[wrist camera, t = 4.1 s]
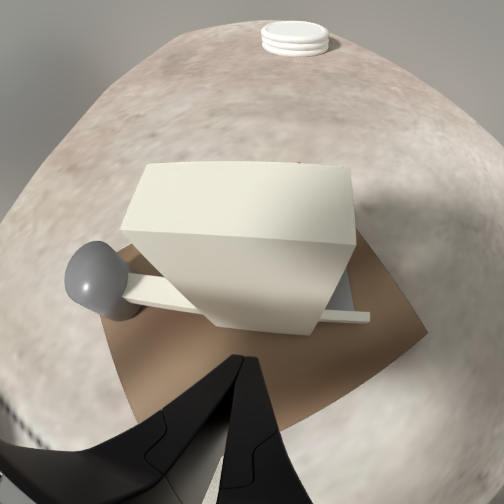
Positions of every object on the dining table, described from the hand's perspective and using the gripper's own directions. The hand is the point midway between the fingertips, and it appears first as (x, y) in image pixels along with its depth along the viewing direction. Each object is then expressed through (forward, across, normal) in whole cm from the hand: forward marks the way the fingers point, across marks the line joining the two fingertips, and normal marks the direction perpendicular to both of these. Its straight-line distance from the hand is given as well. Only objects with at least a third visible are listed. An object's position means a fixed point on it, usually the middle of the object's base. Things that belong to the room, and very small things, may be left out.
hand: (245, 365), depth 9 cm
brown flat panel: (+8, +2, +3) cm, 8 cm away
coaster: (+36, 0, -24) cm, 43 cm away
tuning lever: (+6, +3, +2) cm, 7 cm away
